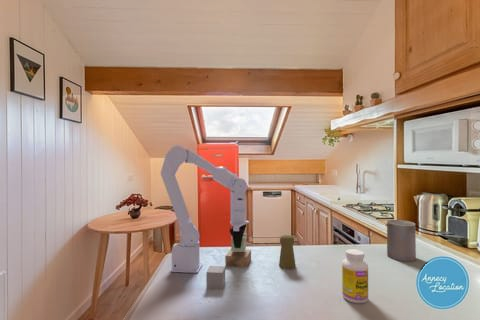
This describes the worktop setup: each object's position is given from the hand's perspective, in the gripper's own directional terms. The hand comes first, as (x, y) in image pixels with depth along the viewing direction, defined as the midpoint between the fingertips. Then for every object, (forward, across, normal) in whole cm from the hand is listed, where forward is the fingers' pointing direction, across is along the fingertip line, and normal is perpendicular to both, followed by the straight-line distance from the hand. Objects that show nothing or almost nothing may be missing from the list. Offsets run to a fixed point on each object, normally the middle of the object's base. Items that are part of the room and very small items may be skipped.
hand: (238, 245), depth 103 cm
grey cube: (+6, -19, +5) cm, 21 cm away
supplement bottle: (+7, -24, -35) cm, 43 cm away
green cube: (+1, 0, 0) cm, 1 cm away
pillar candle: (+7, +10, -63) cm, 64 cm away
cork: (+7, -2, -18) cm, 19 cm away
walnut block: (+7, 0, 0) cm, 7 cm away
